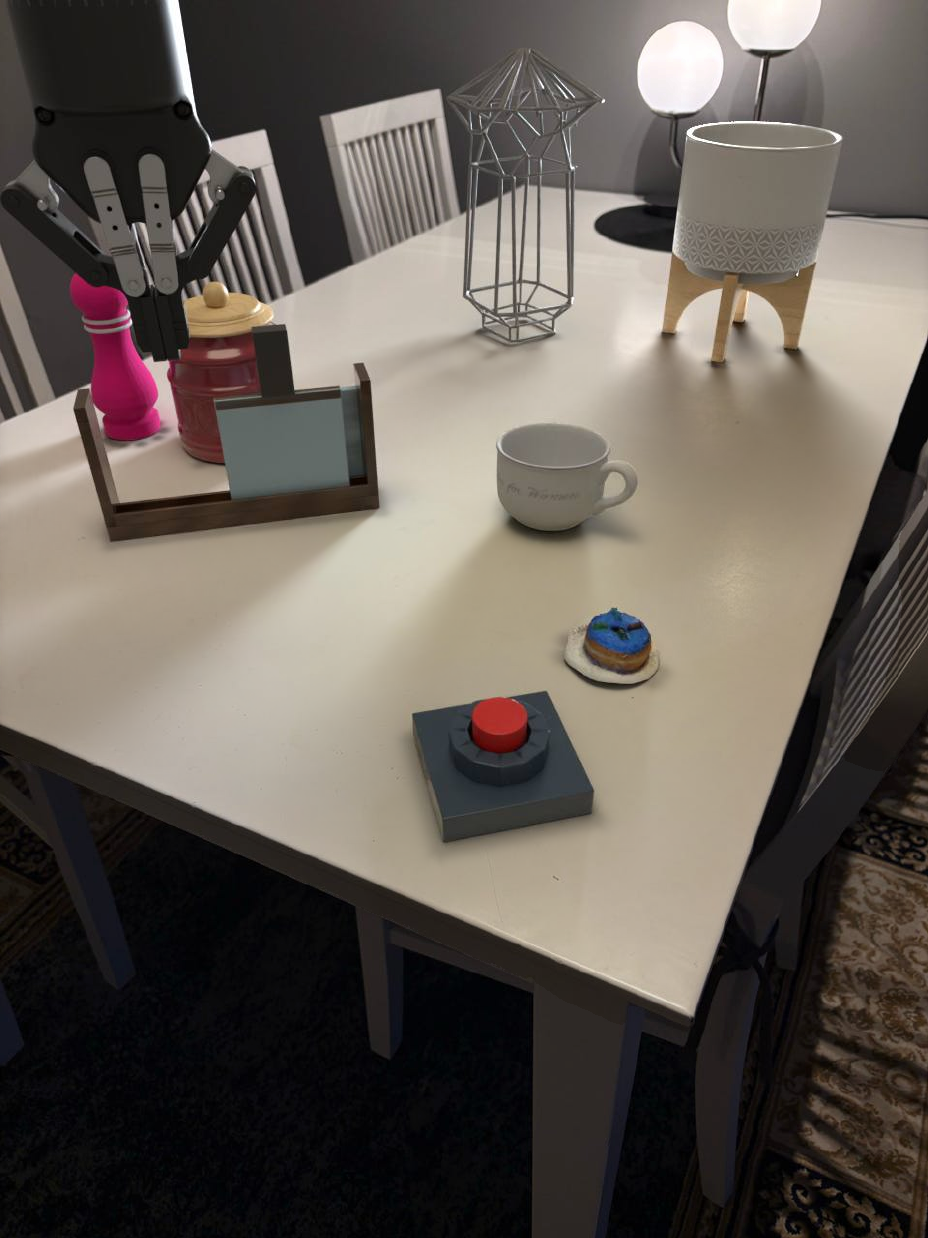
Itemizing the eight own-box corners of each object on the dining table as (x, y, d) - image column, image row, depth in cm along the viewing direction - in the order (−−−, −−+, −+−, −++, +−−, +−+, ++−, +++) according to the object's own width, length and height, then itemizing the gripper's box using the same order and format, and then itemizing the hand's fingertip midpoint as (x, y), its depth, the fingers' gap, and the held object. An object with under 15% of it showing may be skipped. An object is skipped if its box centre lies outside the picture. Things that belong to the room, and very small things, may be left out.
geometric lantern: (500, 357, 124) (505, 56, 103) (444, 323, 135) (439, 45, 114) (593, 336, 130) (616, 49, 109) (532, 305, 141) (543, 39, 120)
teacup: (472, 516, 90) (472, 442, 85) (541, 478, 96) (545, 407, 92) (585, 569, 82) (592, 491, 78) (652, 524, 89) (663, 449, 84)
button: (479, 758, 59) (479, 738, 58) (466, 721, 61) (466, 701, 60) (533, 748, 59) (534, 729, 58) (517, 712, 62) (518, 693, 61)
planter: (647, 352, 125) (672, 142, 110) (676, 310, 139) (702, 118, 124) (789, 371, 119) (836, 152, 104) (804, 325, 133) (848, 126, 118)
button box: (443, 842, 58) (441, 800, 55) (412, 735, 65) (410, 693, 63) (592, 813, 60) (597, 770, 57) (545, 712, 67) (548, 671, 65)
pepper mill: (89, 440, 104) (40, 259, 92) (119, 414, 110) (75, 240, 98) (149, 444, 103) (106, 262, 91) (175, 418, 109) (138, 243, 97)
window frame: (110, 541, 87) (72, 408, 79) (113, 518, 90) (77, 389, 82) (379, 507, 92) (370, 379, 83) (372, 487, 95) (363, 362, 87)
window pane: (233, 509, 88) (202, 336, 78) (232, 501, 90) (201, 330, 79) (351, 495, 90) (335, 325, 80) (348, 487, 92) (333, 319, 81)
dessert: (679, 675, 69) (641, 626, 66) (608, 722, 71) (567, 677, 68) (646, 619, 76) (609, 573, 73) (581, 664, 77) (543, 620, 74)
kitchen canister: (315, 448, 102) (296, 288, 92) (202, 476, 97) (169, 310, 86) (272, 407, 111) (251, 257, 101) (167, 431, 106) (133, 276, 95)
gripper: (235, -20, 45) (279, 324, 56) (-50, -16, 43) (52, 344, 53) (242, -14, 40) (290, 370, 50) (-87, -9, 37) (35, 393, 48)
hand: (167, 356), depth 52 cm, fingers closed
